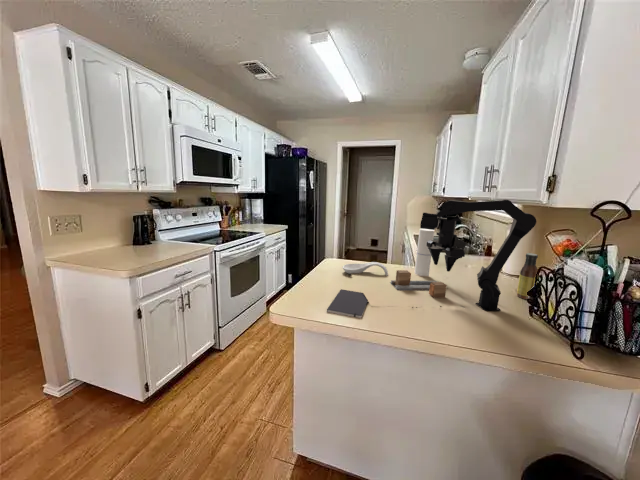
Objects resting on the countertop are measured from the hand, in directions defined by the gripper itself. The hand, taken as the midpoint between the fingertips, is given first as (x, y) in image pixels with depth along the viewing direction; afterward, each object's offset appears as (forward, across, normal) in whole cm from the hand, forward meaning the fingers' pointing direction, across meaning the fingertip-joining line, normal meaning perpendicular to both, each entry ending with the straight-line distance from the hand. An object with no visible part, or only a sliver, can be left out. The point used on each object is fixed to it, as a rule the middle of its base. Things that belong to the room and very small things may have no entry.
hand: (441, 267), depth 116 cm
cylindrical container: (+13, +27, -6) cm, 31 cm away
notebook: (+14, -4, +40) cm, 42 cm away
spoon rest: (+14, +31, +23) cm, 41 cm away
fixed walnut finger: (+12, +10, +12) cm, 19 cm away
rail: (+13, +9, +5) cm, 17 cm away
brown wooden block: (+13, -2, +2) cm, 13 cm away
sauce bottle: (+13, -2, -40) cm, 43 cm away
